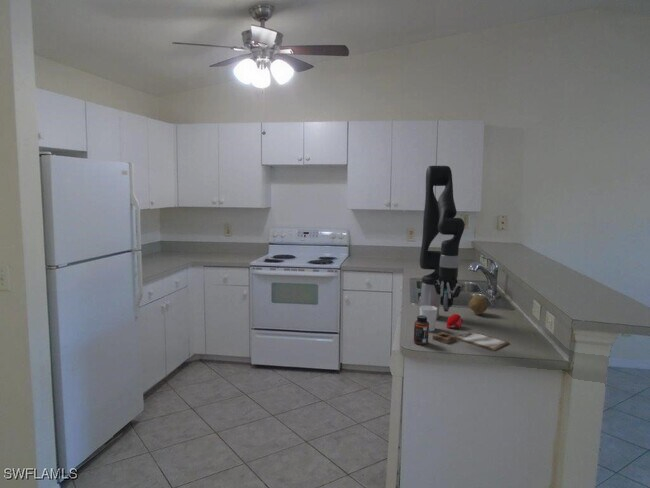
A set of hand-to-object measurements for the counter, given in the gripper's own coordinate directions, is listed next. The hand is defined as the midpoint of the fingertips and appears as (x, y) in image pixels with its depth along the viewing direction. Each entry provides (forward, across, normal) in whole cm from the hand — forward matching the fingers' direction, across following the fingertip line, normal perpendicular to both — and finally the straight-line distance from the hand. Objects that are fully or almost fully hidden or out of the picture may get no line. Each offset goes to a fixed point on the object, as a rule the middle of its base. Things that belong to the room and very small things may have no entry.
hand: (446, 305), depth 185 cm
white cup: (+15, -13, +6) cm, 21 cm away
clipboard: (+15, +11, +11) cm, 21 cm away
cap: (+15, -7, +18) cm, 25 cm away
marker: (+2, 0, 0) cm, 2 cm away
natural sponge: (+15, -11, +46) cm, 50 cm away
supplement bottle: (+15, -4, -11) cm, 19 cm away
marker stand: (+15, 0, 0) cm, 15 cm away
